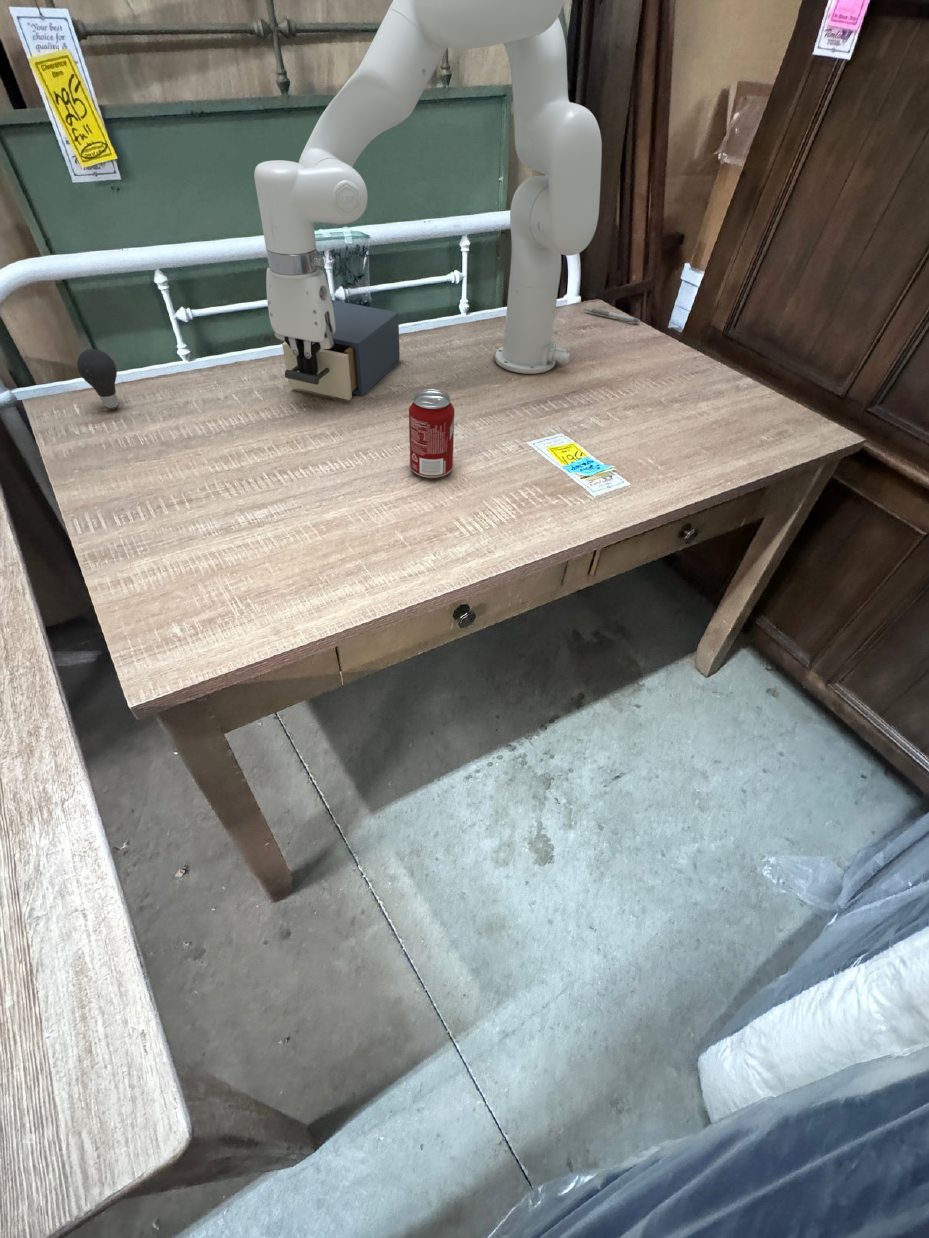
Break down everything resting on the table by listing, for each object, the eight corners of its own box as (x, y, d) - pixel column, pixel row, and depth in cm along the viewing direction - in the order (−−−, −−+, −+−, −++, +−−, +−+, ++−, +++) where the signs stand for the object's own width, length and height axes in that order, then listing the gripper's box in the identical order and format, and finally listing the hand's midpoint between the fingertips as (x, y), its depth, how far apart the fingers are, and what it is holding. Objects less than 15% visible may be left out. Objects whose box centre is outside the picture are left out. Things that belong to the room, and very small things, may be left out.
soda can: (447, 484, 95) (449, 411, 86) (405, 477, 96) (403, 405, 87) (456, 461, 100) (459, 390, 91) (416, 455, 100) (415, 384, 92)
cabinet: (362, 396, 114) (358, 343, 107) (298, 381, 117) (290, 329, 110) (399, 362, 125) (398, 312, 118) (340, 349, 128) (335, 300, 121)
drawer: (335, 412, 107) (329, 368, 102) (273, 398, 110) (265, 354, 104) (386, 366, 121) (384, 325, 115) (330, 355, 124) (325, 314, 118)
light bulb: (94, 403, 108) (71, 345, 100) (129, 398, 109) (108, 341, 102) (95, 418, 104) (70, 359, 97) (131, 413, 106) (109, 355, 99)
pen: (638, 325, 145) (640, 319, 144) (582, 313, 149) (583, 307, 148) (639, 324, 145) (641, 318, 144) (584, 311, 149) (585, 305, 148)
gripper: (347, 262, 95) (357, 377, 109) (265, 247, 99) (283, 360, 112) (323, 275, 91) (336, 394, 104) (237, 259, 94) (260, 377, 107)
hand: (309, 376), depth 108 cm, fingers closed
